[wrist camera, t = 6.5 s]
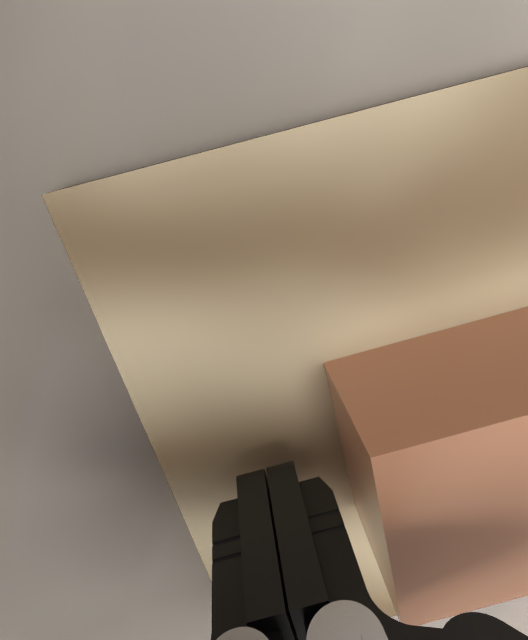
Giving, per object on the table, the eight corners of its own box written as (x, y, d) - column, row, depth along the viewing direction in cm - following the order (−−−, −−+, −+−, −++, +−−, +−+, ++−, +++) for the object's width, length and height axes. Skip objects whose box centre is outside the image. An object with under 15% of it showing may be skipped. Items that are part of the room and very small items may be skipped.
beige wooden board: (61, 188, 10) (41, 194, 8) (575, 53, 10) (622, 41, 8) (242, 620, 16) (244, 656, 15) (550, 537, 16) (575, 567, 15)
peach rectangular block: (323, 362, 11) (370, 457, 7) (555, 299, 11) (703, 366, 7) (354, 505, 13) (402, 629, 9) (549, 451, 13) (664, 557, 9)
